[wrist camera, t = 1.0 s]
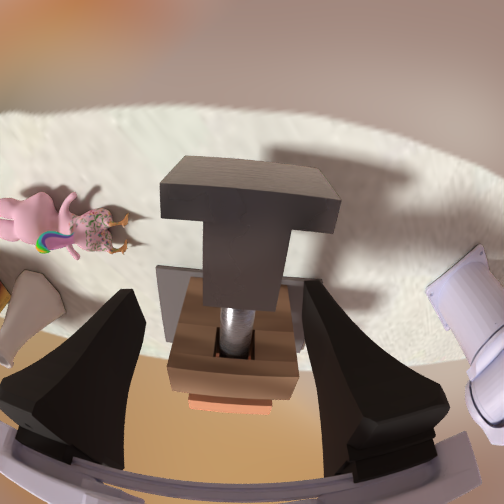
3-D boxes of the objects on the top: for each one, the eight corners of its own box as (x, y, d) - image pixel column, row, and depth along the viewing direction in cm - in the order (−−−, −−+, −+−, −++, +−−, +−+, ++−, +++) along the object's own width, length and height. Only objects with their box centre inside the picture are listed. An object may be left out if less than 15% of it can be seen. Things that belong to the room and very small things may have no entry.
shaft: (271, 372, 24) (272, 416, 20) (192, 366, 24) (185, 409, 20) (318, 168, 14) (341, 200, 11) (185, 155, 14) (159, 183, 10)
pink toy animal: (135, 187, 21) (-6, 174, 17) (117, 222, 16) (-43, 203, 12) (131, 251, 24) (2, 232, 20) (118, 296, 20) (-27, 267, 16)
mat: (299, 349, 29) (299, 352, 29) (166, 338, 28) (166, 341, 28) (322, 279, 24) (322, 282, 24) (156, 265, 23) (155, 268, 23)
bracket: (281, 310, 25) (289, 399, 18) (191, 303, 25) (172, 390, 17) (287, 284, 24) (299, 377, 16) (190, 276, 23) (166, 366, 16)
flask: (39, 318, 28) (5, 377, 20) (10, 272, 24) (-35, 329, 16) (76, 316, 27) (39, 386, 19) (44, 263, 24) (-8, 332, 15)
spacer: (267, 355, 24) (269, 414, 19) (198, 349, 24) (189, 408, 19) (269, 344, 24) (272, 406, 18) (198, 338, 23) (188, 399, 18)
